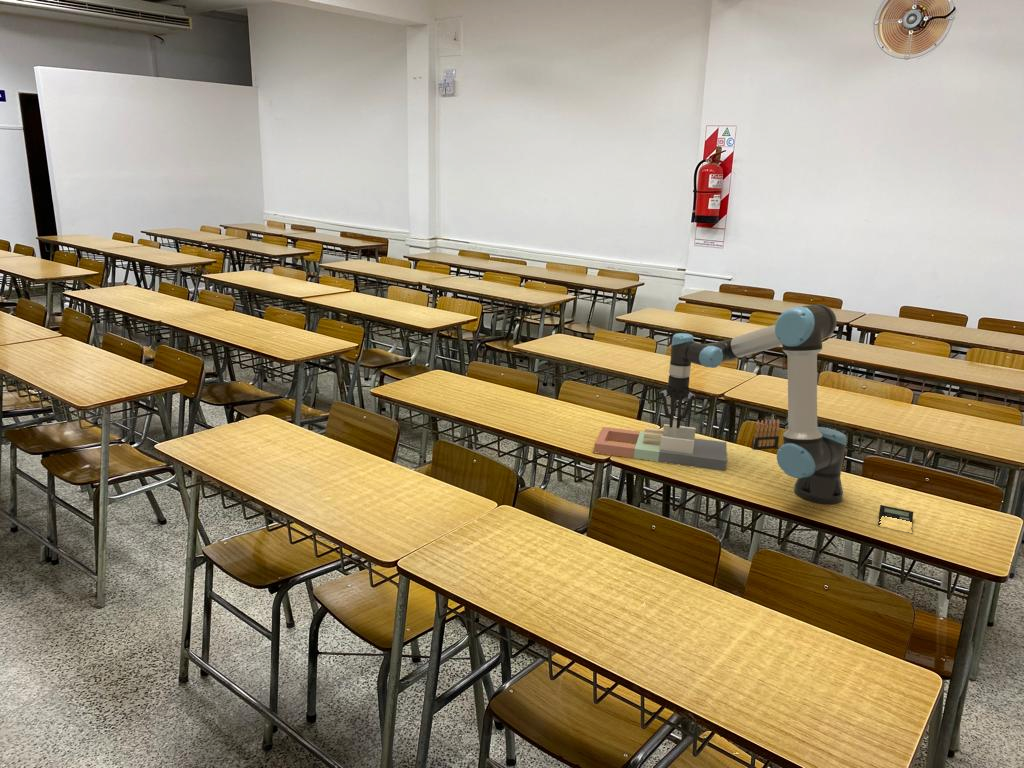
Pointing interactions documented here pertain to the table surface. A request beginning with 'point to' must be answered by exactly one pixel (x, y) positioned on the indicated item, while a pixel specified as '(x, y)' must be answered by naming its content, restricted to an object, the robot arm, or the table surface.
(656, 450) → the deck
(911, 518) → the calculator
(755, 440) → the ammunition clip
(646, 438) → the block
